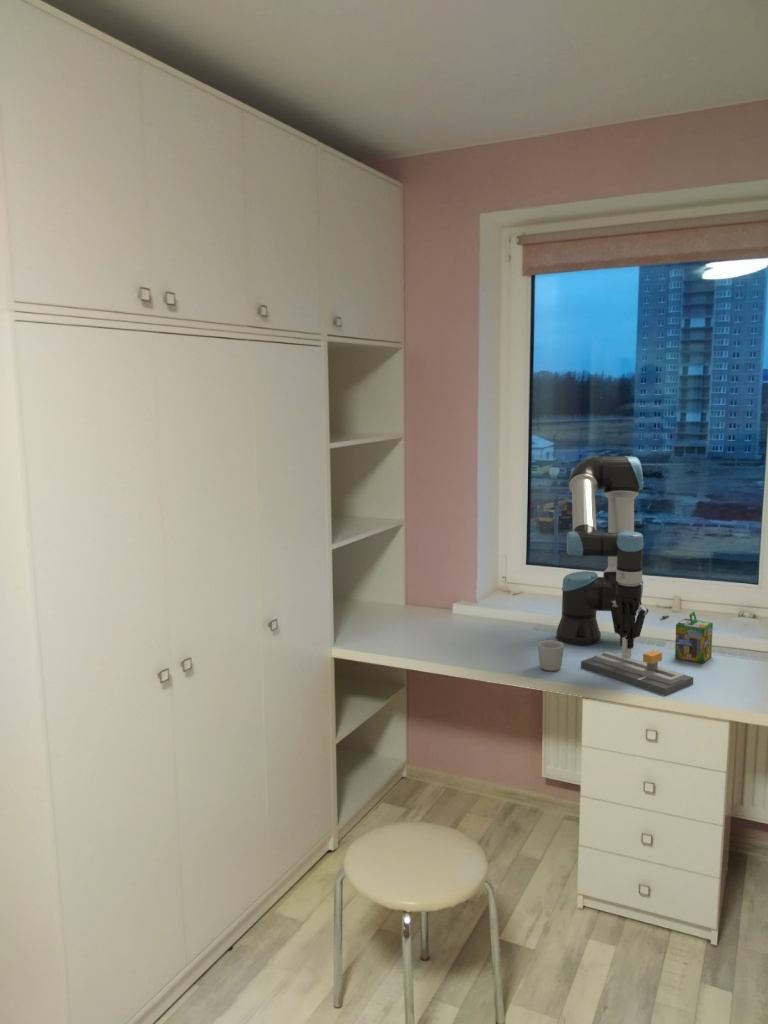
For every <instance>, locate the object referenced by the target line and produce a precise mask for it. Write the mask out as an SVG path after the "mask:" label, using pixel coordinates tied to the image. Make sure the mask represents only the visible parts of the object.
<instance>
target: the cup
mask: <svg viewBox="0 0 768 1024" xmlns="http://www.w3.org/2000/svg"><path fill="white" fill-rule="evenodd" d="M564 644H565V643H564V642H561V641H559V640H558V641H557V640H549V639H548V640H541V641H539V642H538V643H537V652H538V661H539V667H540V668H541V669H542V670H544V671H547V672H554V671H558V670H561V667H562V665H563V658H564V657H563V656H564V648H565V645H564Z"/></svg>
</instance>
